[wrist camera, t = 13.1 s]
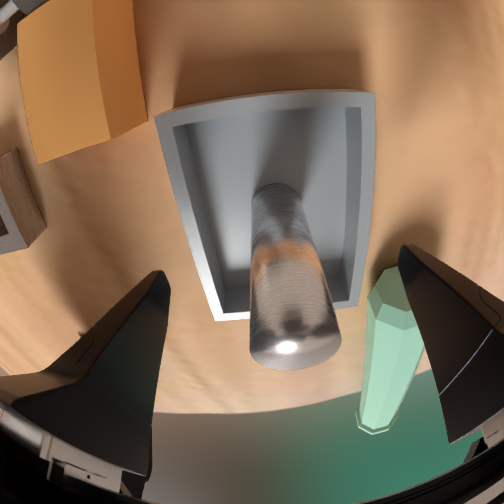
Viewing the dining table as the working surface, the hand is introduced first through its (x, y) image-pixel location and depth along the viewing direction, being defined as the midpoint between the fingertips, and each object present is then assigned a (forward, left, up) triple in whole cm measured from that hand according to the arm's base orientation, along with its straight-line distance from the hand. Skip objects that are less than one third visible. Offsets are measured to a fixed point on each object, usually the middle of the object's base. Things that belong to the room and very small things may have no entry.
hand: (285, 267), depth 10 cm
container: (-17, -9, -5) cm, 20 cm away
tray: (0, 0, -5) cm, 5 cm away
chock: (+9, +7, -5) cm, 13 cm away
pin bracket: (+4, +18, -5) cm, 19 cm away
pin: (0, 0, -4) cm, 5 cm away
